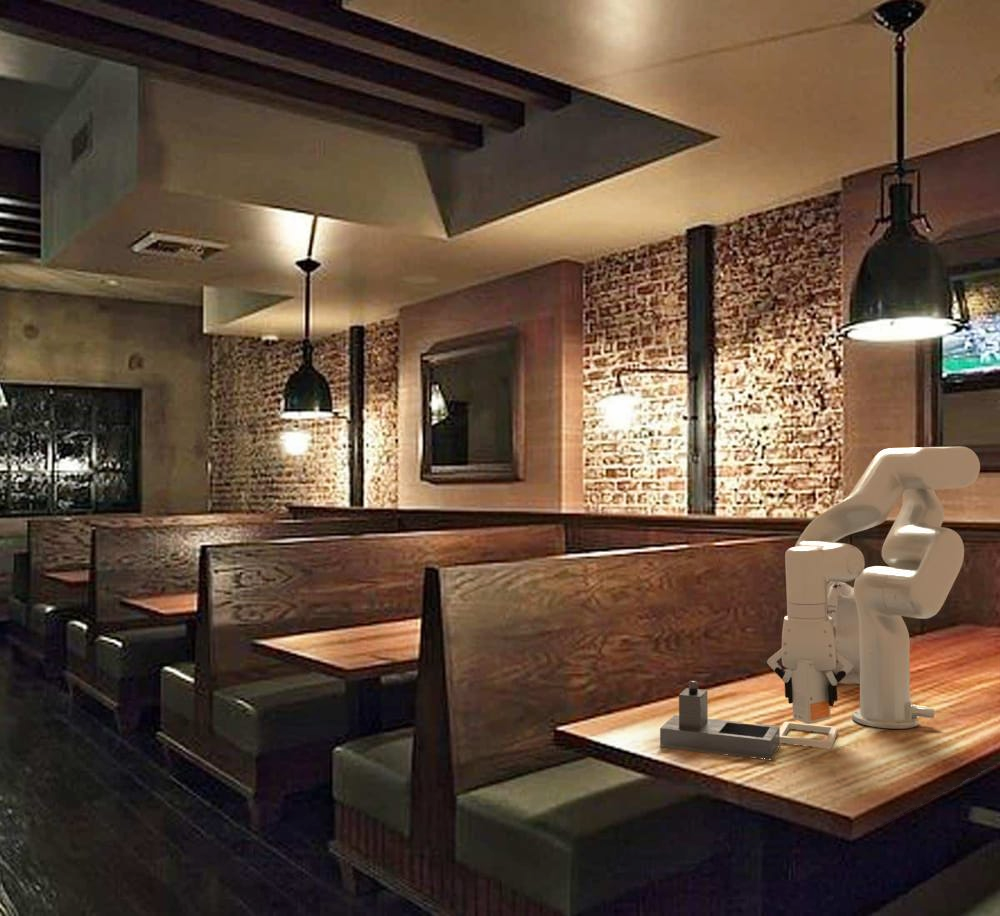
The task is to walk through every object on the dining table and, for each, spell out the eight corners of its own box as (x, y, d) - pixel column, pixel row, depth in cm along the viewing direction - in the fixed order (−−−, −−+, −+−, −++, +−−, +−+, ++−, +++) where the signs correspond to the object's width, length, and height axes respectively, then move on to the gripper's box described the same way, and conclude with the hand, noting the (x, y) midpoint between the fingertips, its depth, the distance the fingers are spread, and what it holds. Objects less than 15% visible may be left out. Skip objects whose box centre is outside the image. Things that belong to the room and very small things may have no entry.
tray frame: (837, 732, 188) (837, 726, 188) (831, 749, 177) (831, 742, 177) (784, 727, 192) (784, 721, 192) (775, 742, 181) (775, 736, 181)
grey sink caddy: (779, 745, 179) (779, 683, 179) (770, 760, 170) (770, 695, 170) (674, 733, 188) (674, 674, 188) (660, 746, 178) (659, 684, 178)
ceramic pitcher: (885, 697, 222) (894, 590, 222) (797, 684, 229) (805, 580, 228) (882, 679, 242) (890, 581, 242) (802, 667, 249) (809, 572, 249)
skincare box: (809, 724, 182) (806, 661, 182) (792, 719, 185) (789, 657, 185) (832, 719, 185) (829, 657, 184) (815, 714, 188) (812, 653, 188)
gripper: (856, 608, 185) (860, 701, 185) (764, 606, 192) (768, 695, 192) (853, 615, 178) (857, 711, 178) (758, 613, 185) (762, 705, 185)
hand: (811, 702), depth 185 cm, fingers closed on skincare box, 6 cm apart
